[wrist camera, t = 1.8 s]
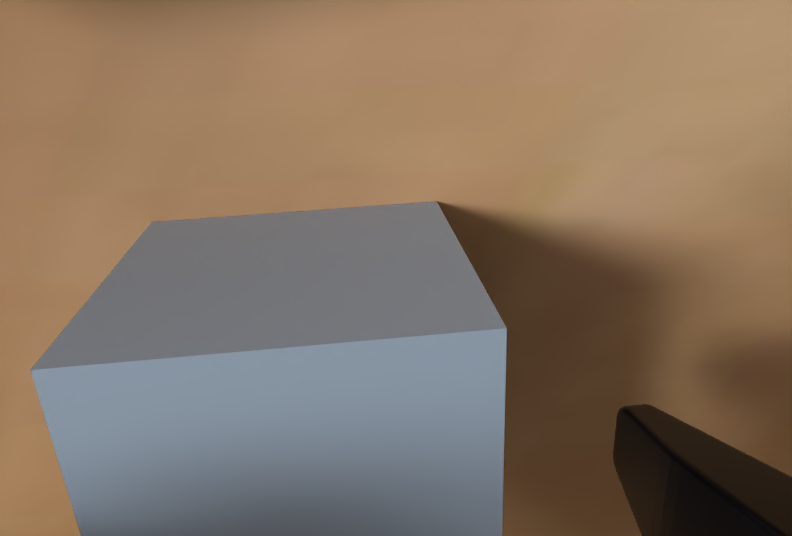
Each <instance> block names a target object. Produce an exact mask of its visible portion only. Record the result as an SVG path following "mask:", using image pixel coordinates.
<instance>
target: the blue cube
mask: <svg viewBox="0 0 792 536" xmlns="http://www.w3.org/2000/svg"><path fill="white" fill-rule="evenodd" d="M506 343H507V328H506V326H505V324H504V322H503V320H502V319H501V317H500V315H499V313H498V311H497V310H496V308H495V306H494V304H493V302H492V301H491V299H490V297H489V295H488V293H487V292H486V290H485V288H484V286H483V284H482V283H481V281H480V279H479V277H478V275H477V273H476V272H475V270H474V268H473V266H472V264H471V263H470V261H469V259H468V257H467V255H466V254H465V252H464V250H463V248H462V246H461V245H460V243H459V241H458V239H457V237H456V236H455V234H454V232H453V230H452V228H451V227H450V225H449V223H448V221H447V219H446V217H445V216H444V214H443V212H442V210H441V208H440V207H439V205H438V203H437V201H434V202H420V203H407V204H393V205H379V206H365V207H351V208H337V209H324V210H310V211H296V212H282V213H268V214H255V215H241V216H227V217H213V218H199V219H185V220H172V221H158V222H151V224H150V225H149V226H148V227H147V229H146V230H145V231H144V232H143V233H142V235H141V236H140V237H139V238H138V240H137V241H136V242H135V243H134V244H133V246H132V247H131V248H130V249H129V250H128V252H127V253H126V254H125V255H124V257H123V258H122V259H121V260H120V261H119V263H118V264H117V265H116V266H115V268H114V269H113V270H112V271H111V272H110V274H109V275H108V276H107V277H106V279H105V280H104V281H103V282H102V283H101V285H100V286H99V287H98V288H97V290H96V291H95V292H94V293H93V294H92V296H91V297H90V298H89V299H88V300H87V302H86V303H85V304H84V305H83V307H82V308H81V309H80V310H79V311H78V313H77V314H76V315H75V316H74V318H73V319H72V320H71V321H70V322H69V324H68V325H67V326H66V327H65V329H64V330H63V331H62V332H61V333H60V335H59V336H58V337H57V338H56V339H55V341H54V342H53V343H52V344H51V346H50V347H49V348H48V349H47V350H46V352H45V353H44V354H43V355H42V357H41V358H40V359H39V360H38V361H37V363H36V364H35V365H34V366H33V368H32V369H31V370H30V371H31V374H32V377H33V380H34V384H35V387H36V390H37V393H38V397H39V400H40V403H41V406H42V410H43V413H44V416H45V419H46V423H47V426H48V429H49V433H50V436H51V439H52V442H53V446H54V449H55V452H56V455H57V459H58V462H59V465H60V468H61V472H62V475H63V478H64V481H65V485H66V488H67V491H68V494H69V498H70V501H71V504H72V507H73V511H74V514H75V517H76V520H77V524H78V527H79V530H80V534H81V536H502V519H503V475H504V431H505V387H506Z"/></svg>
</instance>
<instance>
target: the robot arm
mask: <svg viewBox="0 0 792 536" xmlns="http://www.w3.org/2000/svg"><path fill="white" fill-rule="evenodd" d="M613 459H614V465H615V469H616V472H617V474H618V477H619V479H620V482H621V484H622V487H623V489H624V492H625V494H626V497H627V499H628V502H629V504H630V507H631V509H632V512H633V514H634V517H635V519H636V522H637V525H638V527H639V530H640V532H641V535H642V536H792V477H791V476H789V475H787V474H785V473H783V472H781V471H779V470H777V469H775V468H773V467H771V466H769V465H767V464H765V463H763V462H761V461H759V460H757V459H755V458H753V457H751V456H749V455H747V454H745V453H743V452H741V451H739V450H738V449H736V448H734V447H732V446H730V445H728V444H726V443H724V442H722V441H720V440H718V439H716V438H714V437H712V436H710V435H708V434H706V433H704V432H702V431H700V430H698V429H696V428H694V427H692V426H690V425H688V424H686V423H684V422H683V421H681V420H679V419H677V418H675V417H673V416H671V415H669V414H667V413H665V412H663V411H661V410H659V409H657V408H655V407H653V406H651V405H647V404H643V405H632V406H624V407H622V408H621V409H620V410H619V412H618V414H617V421H616V430H615V440H614V450H613Z"/></svg>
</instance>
